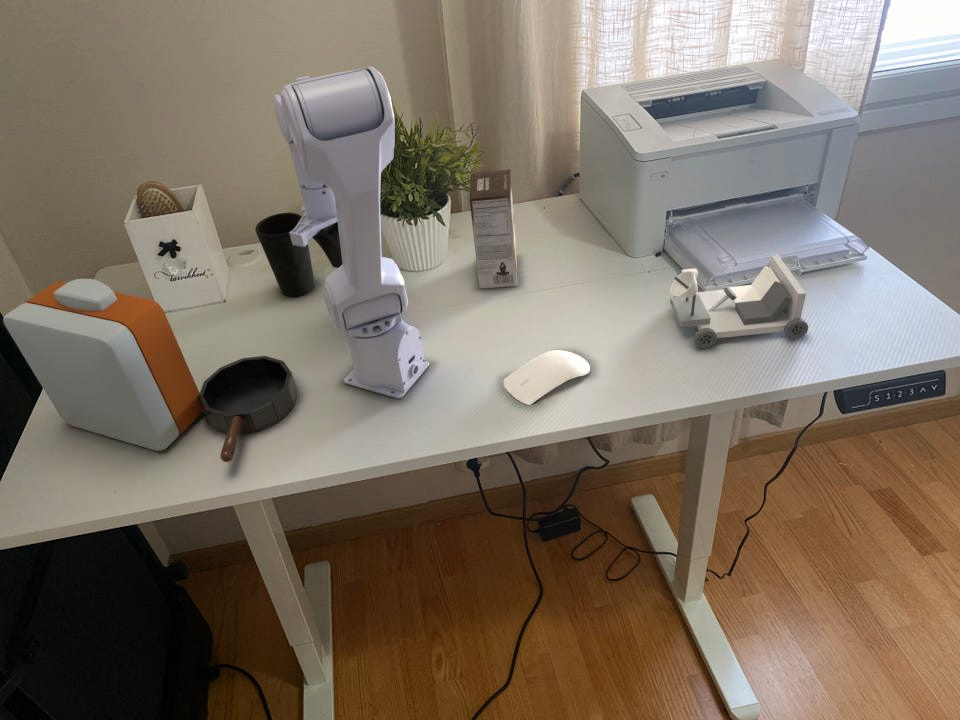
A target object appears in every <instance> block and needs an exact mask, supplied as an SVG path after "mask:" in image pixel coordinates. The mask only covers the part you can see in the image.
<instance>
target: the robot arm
mask: <svg viewBox="0 0 960 720" xmlns="http://www.w3.org/2000/svg"><path fill="white" fill-rule="evenodd" d="M282 87H283V88H282V90H281V92H280V94H274V95H273V108H274V113H275V117H276V120H277V123H278V126H279V129H280V132H281V134H282V136H283V137H284V139H285V142H287V145H288V148H289V152H290V155H291V159H292V160H291V161H292V163H293V167H294V170H295V175H296V178H297V182H298V186H299V190H300V194H301V198H302V202H303V206H302V207H301V209H300V210H301V212H302V215H301V216H302V218H301V219H300V221H299V222H298V224H297V225H296V227H295V228H294V229H293V230H292V231H291V232H290V237H291V240H292V244H293V245H296V246H301V247H305V246H306V245H307V244H308V245H309V240H310V239H311V238H312V239H313V240H314V241H315V242H316V243H317V244H318V245H319V247H320V248H321V249H322V251H323V252H324V254H325V255H326V258H327V259H328V261H329V263H330V265H331V266H332V268H336V269H335V270H333V271H332V272H331V273H329V275H327V276H326V277H325V278H324V282H325V283H324V284H323V285H324V289H323V291H322V292H323V293H322V294H323V297H324V301H325V306H326V308H327V309H326V310H327V312H328V315H329V317H330V321H331V323H332V326H333V327H334V329H335V330H337V331H339V333H345V337H346V340H347V341H346V342H347V344H348V348H349V352H350V356H351V361H352V365H353V369H352V370H351V371H350V372H349V373H348V374H347V375H346V376H345V377H344V379H343V383H344V384H345V385H350V386H352V387H357V388H359V389H363V390H366V391H370V392H374V393H377V394H381V395H384V396H387V397H392V398H395V399H402V398H403V397H404V396H405V394H407V392H408V391H409V390H410V389H411V388H412V386H413V385H414V384H415V383H416V381H418V380H419V378H420V377H421V376H422V374H423V373H424V372H425V371H426V370H427V369H428V367H429V366H430V362H429V361H427V360H426V359H425V352H424V347H423V341H422V335H421V333H420V330H419V329H418V328H417V327H415V326H414V325H410V324H409V323H408V322H405V321H404V320H403V319H402V314H404V313H406V312H407V310H408V307H409V301H408V300H409V299H408V295H407V290H406V283H405V280H404V277H403V275H402V272H401V271H400V268H399V266H398V265H397V262H395V261H394V259H393V258H390V257H385V256H383V253H382V251H383V250H382V222H381V221H382V220H381V219H382V218H381V189H382V188H381V186H382V185H381V184H382V183H381V182H382V181H381V180H382V172H383V171H384V170H385V169H386V167H387V166H388V165H389V164H390V163H391V162H392V161H393V160H394V154H395V153H394V152H395V151H394V150H395V145H396V144H395V143H396V142H395V141H396V140H395V137H396V136H395V135H396V131H395V129H396V125H395V113H394V109H393V103H392V99H391V95H390V92H389V91H390V90H389V88H388V85H387V82H386V80H385V78H384V76H383V75H382V73H381V72H380V71H378V70H377V68H375V67H374V66H367V67H365V69H364V68H357V69H356V68H355V69H352V70H351V69H350V70H345V71H338V72H334V73H329V74H325V75H320V76H319V75H318V76H314V77H310V76H308V75H306V76H300V77H297V78H295V80H294V82H292V83H288V84H285V85H283V86H282Z"/></svg>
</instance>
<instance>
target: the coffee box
mask: <svg viewBox="0 0 960 720" xmlns="http://www.w3.org/2000/svg"><path fill="white" fill-rule="evenodd" d="M513 196H514V195H513V183H512V171H511V169H509V168H508V169H501V170H499V169H498V170H487V171H486V170H485V171H480V172H472V173H470V181H469V207H470V216H471V226H472V234H473V245H474V253H475V261H476V262H475V263H476V270H477V271H476V272H477V280H478V281H477V282H478V287H479V289H494V288H507V287H517V286H518V262H517V242H516V241H517V239H516V225H515V211H514V210H515V209H514V199H513V198H514V197H513Z"/></svg>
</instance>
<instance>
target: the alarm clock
mask: <svg viewBox="0 0 960 720" xmlns="http://www.w3.org/2000/svg"><path fill="white" fill-rule="evenodd" d="M2 320H3V325H4V326H5V328H6V330H7V331H8V333H9V334H10V336H11V338H12V339H13V341H14V343H15V344H16V346H17V348H18V349H19V351H20V353H21V354H22V356H23V357H24V359H25V361H26V362H27V365H28V366H29V368H30V369H31V371H32V372H33V374H34V376H35V377H36V379H37V381H38V383H39V384H40V385H41V388H42V389H43V391H44V392H45V394H46V395H47V397H48V399H49V400H50V402H51V404H52V405H53V407H54V408H55V410H56V412H57V414H58V415H59V417H60V419H62V420H63V421H64V422H65V423H66V424H67V425H70V426H71V427H75V428H77V429H82V430H85V431H89V432H92V433H95V434H98V435H102V436H105V437H109V438H112V439H115V440H119V441H122V442H126V443H128V444H131V445H135V446H138V447H143V448H146V449H148V450H152V451H155V452H160V451H163V450H166V449H167V448H168V447H170V446H171V444H172V443H173V442H175V441H176V440H177V439H178V437H180V435H181V434H182V433H184V432H185V431H186V430H187V429H188V427H189V426H190V425H191V424H193V423H194V422H195V421H196V420H197V419H198V418H199V417H200V416H201V415H202V414H203V412H204V409H203V407H202V405H201V403H200V400H199V397H198V396H199V394H200V391H199V388H198V386H197V384H196V382H195V379H194V377H193V374H192V372H191V370H190V368H189V365H188V363H187V361H186V359H185V356H184V354H183V351H182V349H181V347H180V345H179V342H178V341H177V338H176V336H175V333H174V331H173V329H172V327H171V324H170V322H169V319H168V318H167V315H166V313H165V310H164V309H163V308H162V306H161V305H160V304H159V303H158V302H157V301H155V300H153V299H151V298H146V297H142V296H137V295H131V294H126V293H121V292H117V291H114V290H112V289H111V288H110V287H109V286H108V285H107V284H105V283H103V282H101V281H99V280H96V279H93V278H76V279H73V280H70V281H68V282H66V281H56V282H54V283H52V284H50V285H49V286H47V287H46V288H44V289H42V290H41V291H39V292H38V293H36V294H35V295H34V296H32V297H31V298H29V299H27V300H26V301H24V302H23V303H22V304H19V305H18V306H17V307H15V308H14V309H13V310H11V311H9V312H7V313H6V314H5V315H4V317H3V318H2Z"/></svg>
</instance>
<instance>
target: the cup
mask: <svg viewBox="0 0 960 720" xmlns="http://www.w3.org/2000/svg"><path fill="white" fill-rule="evenodd" d="M302 216H303V215H301V214H299V213H294V212H281V213H275V214H272V215H269V216H267V217H265V218H263V219H261V220H260V221H259V222H258V223H257V224H256V226H255V228H254V231H255V234H256V236H257V237H258V240H259V242H260V245H261V247H262V250H263V252H264V254H265V257H266V259H267V262H268V264H269V266H270V268H271V271H272V273H273V275H274V277H275V280H276V282H277V284H278V287H279V289H280V291H281V294H282V295H283V296H284V297H287V298H299V297H304V296H306V295H308V294H309V293H311V292H312V291H313V290H314V289H315V287H316V284H315V283H316V282H315V278H314V271H313V266H312V260H311V259H312V258H311V252H310V246H309V243H308V244H307V245H306V246H305V247H301V246H296V245H293V244H292V240H291V237H290V232H291V231H292V230H293V229H294V228H295V227H296V225H297V224H298V222H299V221H300V219H301V218H302Z"/></svg>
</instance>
